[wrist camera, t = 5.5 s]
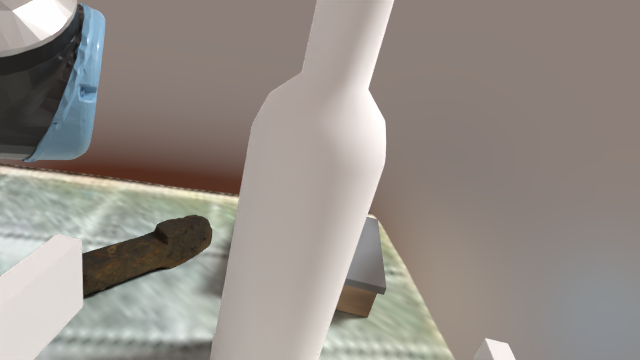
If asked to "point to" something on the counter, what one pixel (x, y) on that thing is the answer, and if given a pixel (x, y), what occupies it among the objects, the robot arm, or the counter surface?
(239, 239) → the bottle
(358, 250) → the slate stand
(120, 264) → the hand tool
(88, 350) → the counter surface
